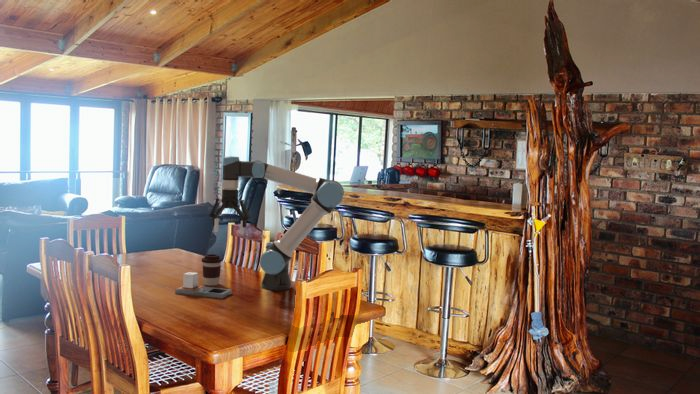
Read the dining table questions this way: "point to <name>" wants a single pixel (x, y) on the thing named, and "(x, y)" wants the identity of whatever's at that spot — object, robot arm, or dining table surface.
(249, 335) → the dining table surface
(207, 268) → the coffee cup
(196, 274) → the block
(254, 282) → the dining table surface
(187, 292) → the grey tray
